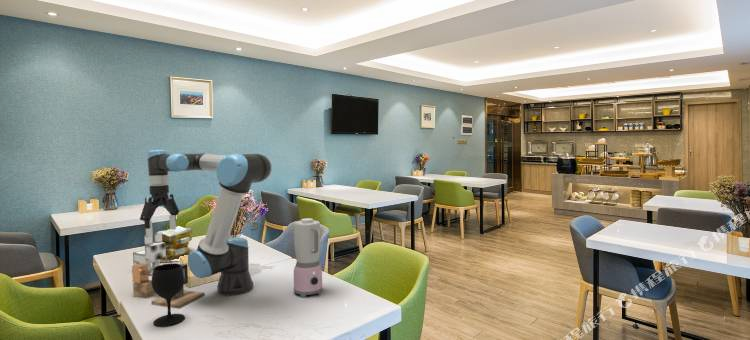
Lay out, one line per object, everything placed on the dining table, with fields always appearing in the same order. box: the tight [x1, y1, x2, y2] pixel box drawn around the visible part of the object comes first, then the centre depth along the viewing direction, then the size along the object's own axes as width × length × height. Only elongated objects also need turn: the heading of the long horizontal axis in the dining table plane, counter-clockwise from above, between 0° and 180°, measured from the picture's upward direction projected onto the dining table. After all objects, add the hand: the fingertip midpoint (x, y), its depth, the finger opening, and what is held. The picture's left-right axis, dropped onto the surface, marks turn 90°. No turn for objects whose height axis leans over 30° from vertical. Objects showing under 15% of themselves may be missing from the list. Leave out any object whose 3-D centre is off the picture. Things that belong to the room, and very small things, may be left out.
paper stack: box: [157, 225, 196, 263], centre depth 229 cm, size 25×25×17 cm
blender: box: [293, 217, 323, 298], centre depth 170 cm, size 16×12×32 cm
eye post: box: [174, 263, 189, 299], centre depth 164 cm, size 2×8×13 cm, turn 163°
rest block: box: [132, 279, 157, 299], centre depth 170 cm, size 7×5×6 cm
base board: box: [151, 289, 206, 309], centre depth 164 cm, size 14×14×1 cm
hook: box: [131, 263, 153, 283], centre depth 168 cm, size 19×4×7 cm, turn 73°
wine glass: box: [151, 262, 186, 328], centre depth 144 cm, size 10×10×20 cm
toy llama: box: [132, 231, 166, 270], centre depth 202 cm, size 8×18×20 cm, turn 63°
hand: (161, 232), depth 176 cm, fingers open, 13 cm apart
